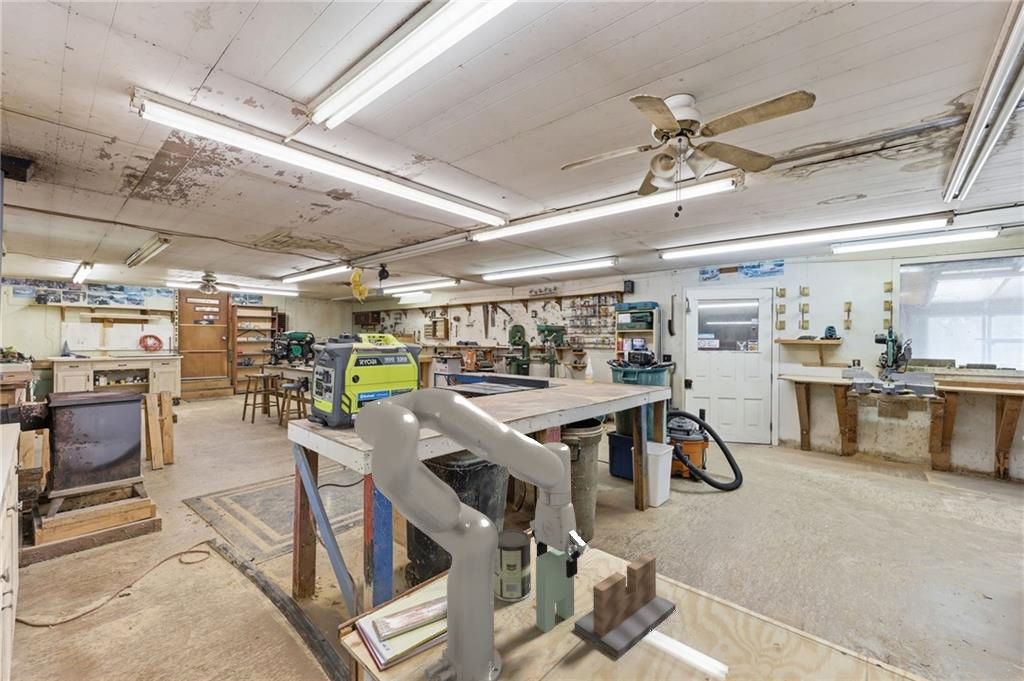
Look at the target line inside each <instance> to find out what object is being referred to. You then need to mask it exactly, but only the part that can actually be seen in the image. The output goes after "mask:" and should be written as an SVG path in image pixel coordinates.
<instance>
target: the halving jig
mask: <svg viewBox="0 0 1024 681" xmlns="http://www.w3.org/2000/svg"><path fill="white" fill-rule="evenodd" d="M656 560H657V559H656V557H655V556H654V555H650V554H648V553H645V554H644V555H643V556H640V557H638V558H637V559H636V560H634V561H633V562H631V563H629V564H628V565H626V575H624V574H622V573H620V572H618V571H616V572H614V573H613V574H611V575H610V576H608V577H606V578H605V579H603V580H601V581H599V582H598V583H596V584H595V585H593V592H592V594H593V597H592V598H593V600H592V601H593V609H592V610H590V611H589V612H588V613H586V614H585V615H583V616H582V617H580V618H579V619H577V620H576V621H574V631H575V630H576V632H578V633H580V634H581V635H583V636H584V637H586V638H587V639H589V640H590V641H592V642H594V643H595V644H597V645H598V646H599V647H601V648H602V649H604V650H605V651H607V652H608V653H610V654H611V655H613V656H614V657H616V658H617V659H620V657H622V656H623V655H624V654H625V653H626V652H628V651H630V649H631V648H634V646H635V645H636V644H637V643H639V642H640V641H641V640H642V639H643V638H645V637H646V636H647V635H648V634H649V633H650V632H651V631H650V630H652V629H653V630H654V629H655V628H657V626H659V625H660V624H662V622H664V619H665V620H666V619H667V618H668V617H670V616H671V615H672V614H673V613H674V612H675V611H676V610H675V609H676V607H677V605H676V603H674V602H672V601H670V600H668V599H666V598H664V597H662V596H659V595H658V594H657V587H656V585H657V579H656V577H657V575H656V571H657V570H656V568H657V567H656ZM674 610H675V611H674ZM673 611H674V612H673ZM672 612H673V613H672ZM671 613H672V614H671ZM670 614H671V615H670ZM653 630H652V631H653ZM649 631H650V632H649ZM648 632H649V633H648Z"/></svg>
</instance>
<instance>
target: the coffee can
mask: <svg viewBox="0 0 1024 681" xmlns="http://www.w3.org/2000/svg"><path fill="white" fill-rule="evenodd" d="M497 532H498V531H497ZM531 541H532V537H531V535H530V534H528V532H526V531H524V530H519V529H506V530H501V531H499V532H498V547H497V553H496V558H495V565H494V597H496V599H499V600H500V601H503V602H509V603H514V602H515V603H516V602H520V601H523V600H526V599H527V598H528V597H529V596H530V595H531V594H532V582H531V581H532V580H531V578H532V574H531V573H532V572H531V570H532V568H531V567H532V566H531V565H532V564H531V563H532V562H531V554H532V553H531Z"/></svg>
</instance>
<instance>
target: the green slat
mask: <svg viewBox="0 0 1024 681" xmlns="http://www.w3.org/2000/svg"><path fill="white" fill-rule="evenodd" d="M569 550H570V552H571V554H573V552H572V550H571V548H569ZM566 560H568V558H567V556H566V554H565V552H564V551H563V552H561V551H558V550H556V549H554V548H552V549H551V550H549V551H547V552H546V553H544V554H542V555H540V556H538V557H537V556H535V600H536V601H535V609H536V610H535V619H536V620H535V624H536V625H535V626H536V627H537V628H538V629H539V630H541V631H542V632H544V633H547V632H550V630H552V629H554V628H555V627H556V614H557V616H560V618H562V619H563V620H565V621H566V620H567V619H569V618H571V617H573V616H574V615H575V575H574V576H572V577H571V578H567V576H566Z"/></svg>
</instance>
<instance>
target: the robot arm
mask: <svg viewBox="0 0 1024 681" xmlns="http://www.w3.org/2000/svg"><path fill="white" fill-rule="evenodd" d="M353 424H354V430H355V433H356V435H357V437H358V438H359V439H360V440H361V441H362V442H363V443H365V444H367V445H368V446H371V448H372V453H371V454H372V455H371V459H370V461H371V462H370V472H371V477H372V480H373V483H374V486H375V487H376V489H377V490H378V491H379V493H381V494H382V495H383V496H384V497H385V499H387V500H388V501H389V502H391V503H392V505H394V506H395V508H396V510H397V512H398V513H399V514H400V515H401V516H402V517H403V518H404V519H406V520H407V521H408V523H410V524H412V525H413V526H414V527H416V528H417V529H419V530H420V531H421V532H422V533H424V534H425V535H426V536H428V537H429V538H430V539H431V540H432V541H434V542H435V543H437V544H438V545H439V546H440V547H441V548H443V550H445V551H446V552H448V553H449V555H451V558H452V560H451V566H450V568H449V571H448V574H447V580H446V648H444V649H443V650H442V651H441V652H442V655H441V657H440V658H438V660H437V661H438V662H436V663H433V664H432V665H430V666H428V667H426V668H425V669H424V674H425V675H424V676H425V678H426V680H427V681H431V680H432V679H434V678H435V677H437V681H498V679H499V678H500V675H501V673H502V669H503V666H502V665H503V664H502V661H503V660H502V656H501V655H500V652H498V650H497V649H496V647H495V595H494V565H495V558H496V553H497V547H498V529H497V526H496V525H495V523H494V522H493V521H492V519H490V518H489V517H488V516H487V515H486V514H484V513H482V512H481V511H479V510H477V509H476V508H474V507H471V506H470V505H467V504H465V503H464V502H462V501H461V500H460V498H459V496H458V495H457V493H456V491H455V490H454V489H453V488H452V486H450V485H449V484H448V483H447V482H445V481H443V480H442V479H440V478H439V477H438V476H437V475H436V474H435V473H434V472H433V471H432V470H430V469H429V468H428V467H427V466H426V465H425V464H424V462H422V461H421V459H420V457H419V444H420V439H421V430H423V429H428V430H432V431H433V432H436V433H438V434H441V435H442V436H444V437H445V438H446V439H448V440H450V441H452V442H454V443H455V444H457V445H459V446H460V447H462V448H463V449H465V450H467V451H469V452H470V453H472V454H474V455H475V456H477V457H478V458H481V459H483V460H485V461H486V462H490V463H491V464H495V465H498V466H501V467H503V468H505V469H507V471H508V473H509V474H510V475H512V477H513V478H515V479H518V480H520V481H522V482H525V483H528V484H530V485H533V486H536V487H537V488H538V492H539V498H537V499H536V500H537V501H536V505H535V512H534V513H535V515H534V519H533V520H531V521H529V526H530V530H531V534H532V536H533V539H534V540H533V541H534V544H535V545H536V557H538V556H540V555H542V554H544V553H546V552H548V547H550V548H552V549H556V550H558V551H561V552H563V551H564V552H565V554H566V556H567V558H568V560H566V576H567V578H571V577H572V576H574V577H575V576H576V575H577V574H578V559H579V558H580V557H581V556H583V555H584V551H585V550H586V547H587V544H586V543H585V542H584V541H583V540H582V539H581V537H580V536H578V534H577V524H576V523H577V522H576V514H575V509H574V505H573V503H572V480H571V479H572V478H571V475H572V474H571V468H572V467H571V465H572V464H571V449H570V447H569V446H568V445H567V444H565V443H563V442H556V441H555V442H546V443H543V444H541V443H540V442H538V441H536V440H535V439H533V438H531V437H528V436H527V435H525V434H523V433H521V432H520V431H518V430H516V429H515V428H513V427H511V426H510V425H507V424H505V423H504V422H502V421H501V420H499V419H498V418H496V417H494V416H493V415H491V414H490V413H488V412H487V411H485V410H484V409H482V408H481V407H479V406H478V405H477V404H475V403H473V402H472V401H471V400H469V399H468V398H466V397H465V396H464V395H462V394H461V393H459V392H456V391H453V390H450V389H444V388H436V387H425V388H421V389H417V390H413V391H412V390H411V391H409V392H408V391H407V392H405V393H404V392H403V393H401V394H400V393H399V394H396V395H393V396H387V397H382V398H379V399H375V400H373V401H369V402H367V403H366V404H365V405H363V406H362V407H361V408H360V409H359V410H358V412H357V414H356V416H355V418H354V423H353ZM569 548H571V550H572V552H573V554H571V552H570V550H569ZM439 673H440V674H439Z"/></svg>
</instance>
